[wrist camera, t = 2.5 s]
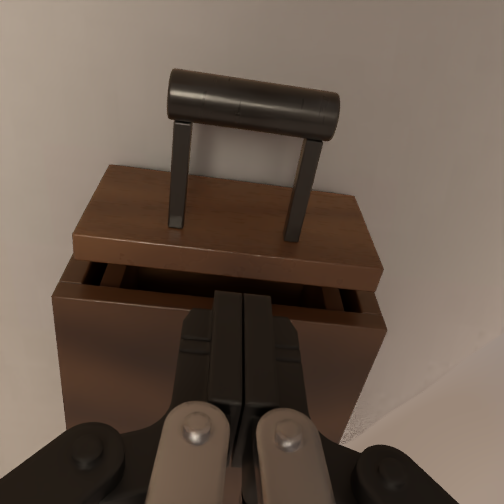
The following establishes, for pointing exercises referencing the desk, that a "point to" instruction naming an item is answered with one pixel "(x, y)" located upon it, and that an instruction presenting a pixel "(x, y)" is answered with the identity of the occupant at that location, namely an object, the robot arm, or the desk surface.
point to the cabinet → (167, 347)
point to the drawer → (232, 208)
